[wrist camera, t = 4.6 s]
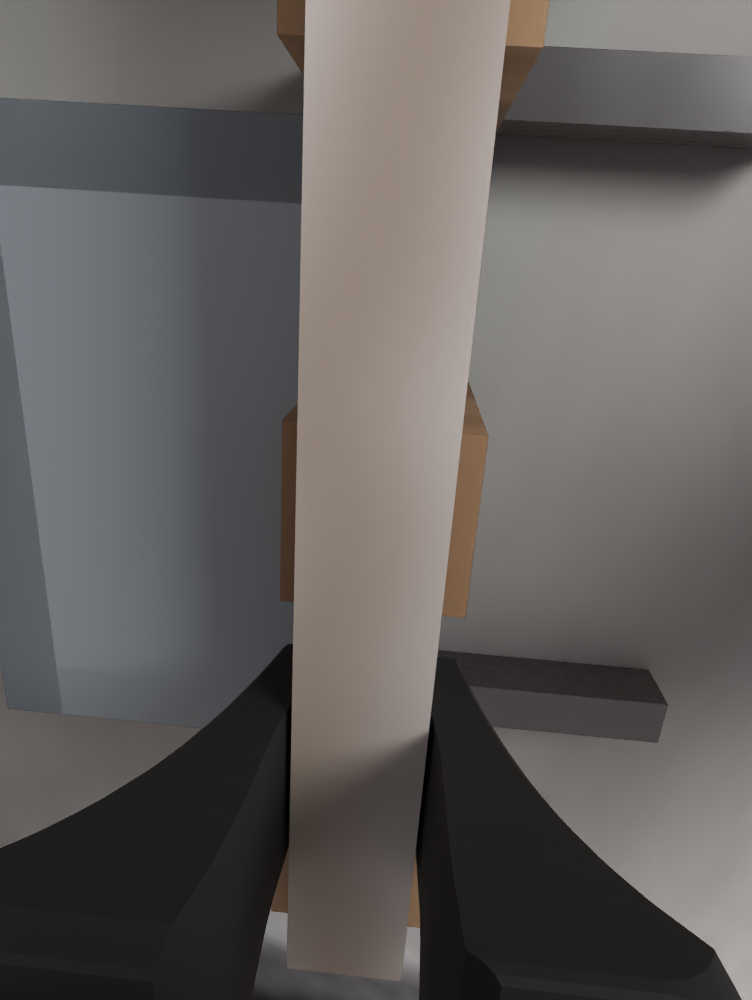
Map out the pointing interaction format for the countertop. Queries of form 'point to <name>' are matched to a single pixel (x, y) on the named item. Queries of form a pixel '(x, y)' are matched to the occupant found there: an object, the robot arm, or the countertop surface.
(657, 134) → the rail frame
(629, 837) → the countertop surface
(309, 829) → the tan piece
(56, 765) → the countertop surface
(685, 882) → the countertop surface
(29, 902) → the robot arm
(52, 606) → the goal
